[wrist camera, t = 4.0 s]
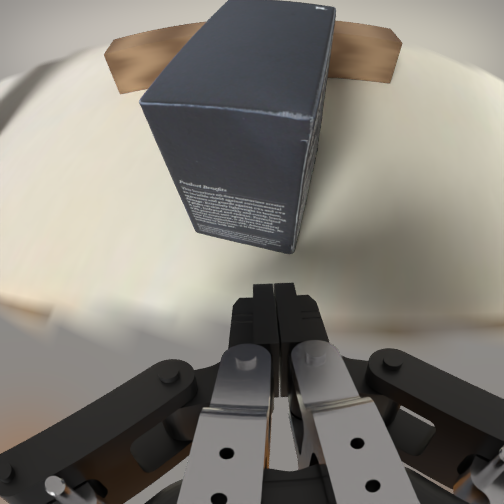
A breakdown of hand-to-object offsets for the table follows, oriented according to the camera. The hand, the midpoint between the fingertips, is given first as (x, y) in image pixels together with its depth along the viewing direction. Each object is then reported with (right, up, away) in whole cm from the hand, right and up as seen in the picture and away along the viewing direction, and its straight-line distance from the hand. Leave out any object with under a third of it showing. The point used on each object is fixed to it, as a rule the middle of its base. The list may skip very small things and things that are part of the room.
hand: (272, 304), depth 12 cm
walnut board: (-1, +19, +13) cm, 23 cm away
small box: (0, +7, +9) cm, 11 cm away
